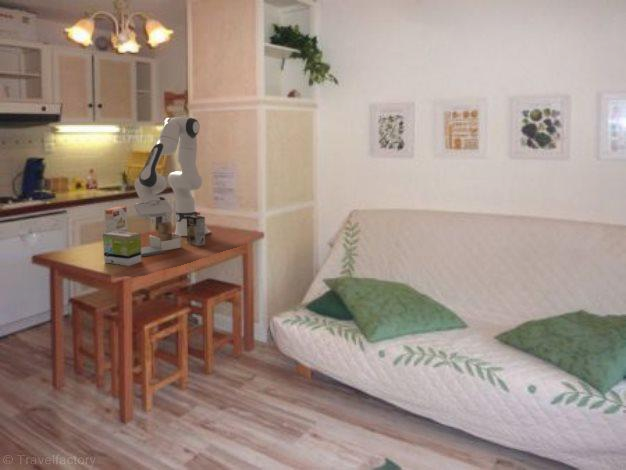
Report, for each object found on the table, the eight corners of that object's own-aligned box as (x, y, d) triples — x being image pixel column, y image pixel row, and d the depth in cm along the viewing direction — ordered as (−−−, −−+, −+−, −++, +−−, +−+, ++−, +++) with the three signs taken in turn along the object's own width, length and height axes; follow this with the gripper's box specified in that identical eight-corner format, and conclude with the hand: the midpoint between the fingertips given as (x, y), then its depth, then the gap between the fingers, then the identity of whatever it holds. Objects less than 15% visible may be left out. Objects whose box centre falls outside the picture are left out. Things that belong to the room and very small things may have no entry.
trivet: (149, 248, 303) (149, 246, 303) (163, 253, 293) (163, 250, 293) (125, 252, 293) (125, 249, 293) (138, 257, 283) (138, 254, 283)
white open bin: (170, 244, 315) (170, 232, 314) (181, 247, 307) (181, 235, 306) (149, 247, 306) (149, 235, 304) (160, 251, 298) (159, 238, 297)
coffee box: (187, 243, 318) (186, 215, 315) (196, 242, 322) (195, 214, 319) (196, 246, 312) (195, 217, 308) (205, 244, 316) (205, 216, 313)
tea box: (103, 263, 270) (101, 233, 267) (117, 258, 280) (116, 230, 277) (128, 266, 265) (127, 236, 262) (142, 261, 274) (140, 232, 271)
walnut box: (168, 246, 310) (167, 221, 307) (172, 247, 307) (171, 222, 304) (158, 247, 306) (157, 222, 303) (162, 249, 303) (161, 223, 300)
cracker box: (115, 247, 306) (113, 209, 302) (105, 246, 307) (103, 209, 303) (128, 242, 319) (126, 206, 316) (119, 241, 321) (117, 206, 317)
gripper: (135, 200, 302) (144, 220, 297) (168, 197, 317) (177, 216, 312) (131, 207, 306) (140, 227, 301) (164, 204, 320) (173, 223, 315)
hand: (159, 221), depth 306 cm, fingers open, 8 cm apart
